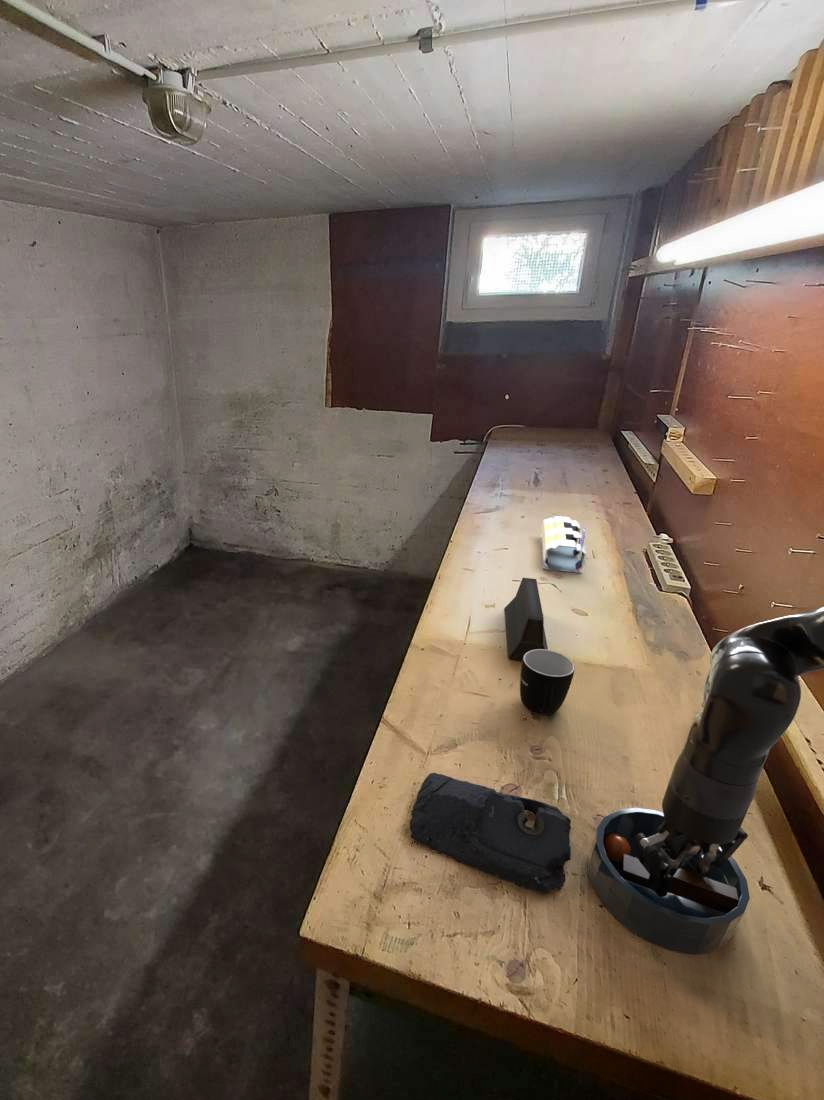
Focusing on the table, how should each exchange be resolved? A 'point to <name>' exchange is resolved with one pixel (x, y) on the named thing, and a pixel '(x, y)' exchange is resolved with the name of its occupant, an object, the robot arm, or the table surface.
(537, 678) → the mug
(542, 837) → the dark slate chunk
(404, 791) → the table surface
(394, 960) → the table surface
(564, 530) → the diorama
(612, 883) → the bowl
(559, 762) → the table surface
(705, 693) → the mechanical component
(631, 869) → the dark brown wooden bar
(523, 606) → the barrier
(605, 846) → the bead
